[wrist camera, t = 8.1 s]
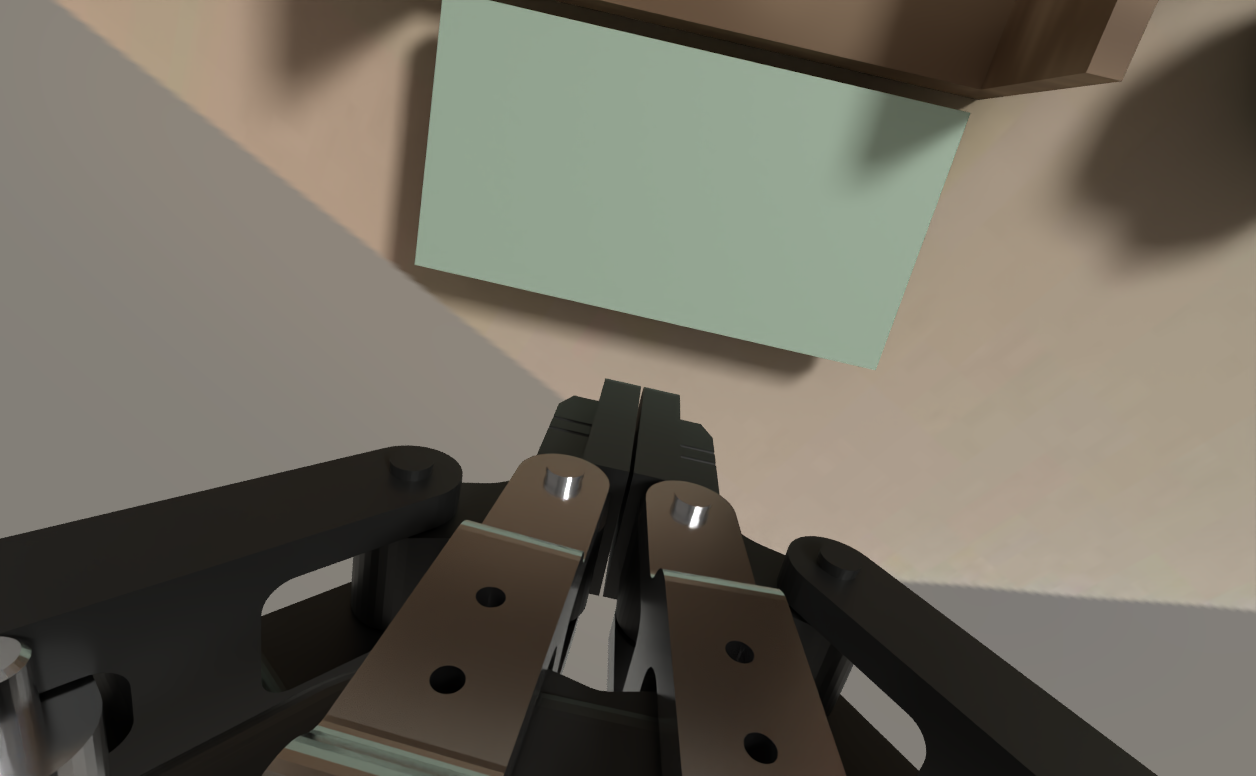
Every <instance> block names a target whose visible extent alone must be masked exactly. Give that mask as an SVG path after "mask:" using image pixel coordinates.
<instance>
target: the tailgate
mask: <svg viewBox="0 0 1256 776" xmlns="http://www.w3.org/2000/svg"><path fill="white" fill-rule="evenodd" d="M969 115H970V113H968V112H964V111H960V110H956V109H951V108H947V107H943V106H938V105H934V104H930V103H926V102H921V101H917V100H913V99H909V98H904V97H900V96H896V95H892V94H887V93H883V92H879V91H874V90H870V89H866V88H862V87H857V86H853V85H849V84H845V83H840V82H836V81H832V80H827V79H823V78H819V77H815V76H810V75H806V74H802V73H798V72H793V71H789V70H785V69H781V68H776V67H772V66H768V65H763V64H759V63H755V62H751V61H746V60H742V59H738V58H734V57H729V56H725V55H721V54H716V53H712V52H708V51H704V50H699V49H695V48H691V47H687V46H682V45H678V44H674V43H669V42H665V41H661V40H657V39H652V38H648V37H644V36H640V35H635V34H631V33H627V32H623V31H618V30H614V29H610V28H605V27H601V26H597V25H593V24H588V23H584V22H580V21H576V20H571V19H567V18H563V17H558V16H554V15H550V14H546V13H541V12H537V11H533V10H529V9H524V8H520V7H516V6H512V5H507V4H503V3H499V2H494V1H490V0H442V7H441V16H440V26H439V36H438V45H437V55H436V64H435V74H434V84H433V93H432V103H431V113H430V122H429V132H428V141H427V151H426V161H425V170H424V180H423V190H422V199H421V209H420V218H419V228H418V238H417V247H416V257H415V265H418V266H423V267H427V268H431V269H436V270H440V271H444V272H449V273H453V274H458V275H462V276H466V277H471V278H475V279H479V280H484V281H488V282H492V283H497V284H501V285H506V286H510V287H514V288H519V289H523V290H527V291H532V292H536V293H541V294H545V295H549V296H554V297H558V298H562V299H567V300H571V301H575V302H580V303H584V304H589V305H593V306H597V307H602V308H606V309H610V310H615V311H619V312H624V313H628V314H632V315H637V316H641V317H645V318H650V319H654V320H658V321H663V322H667V323H672V324H676V325H680V326H685V327H689V328H693V329H698V330H702V331H707V332H711V333H715V334H720V335H724V336H728V337H733V338H737V339H741V340H746V341H750V342H755V343H759V344H763V345H768V346H772V347H776V348H781V349H785V350H790V351H794V352H798V353H803V354H807V355H811V356H816V357H820V358H824V359H829V360H833V361H838V362H842V363H846V364H851V365H855V366H859V367H864V368H868V369H873V370H876V368H877V365H878V362H879V360H880V357H881V354H882V351H883V349H884V346H885V343H886V341H887V338H888V335H889V332H890V330H891V327H892V324H893V322H894V319H895V316H896V313H897V311H898V308H899V305H900V303H901V300H902V297H903V294H904V292H905V289H906V286H907V284H908V281H909V278H910V275H911V273H912V270H913V267H914V265H915V262H916V259H917V256H918V254H919V251H920V248H921V246H922V243H923V240H924V237H925V235H926V232H927V229H928V227H929V224H930V221H931V218H932V216H933V213H934V210H935V208H936V205H937V202H938V199H939V197H940V194H941V191H942V189H943V186H944V183H945V180H946V178H947V175H948V172H949V170H950V167H951V164H952V161H953V159H954V156H955V153H956V151H957V148H958V145H959V142H960V140H961V137H962V134H963V132H964V129H965V126H966V123H967V121H968V118H969Z"/></svg>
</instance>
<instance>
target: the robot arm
mask: <svg viewBox="0 0 1256 776" xmlns="http://www.w3.org/2000/svg"><path fill="white" fill-rule="evenodd" d="M640 390H641V386H637V385H633V384H628V383H624V382H619V381H615V380H611V379H605V382H604V385H603V389H602V392H601V396H600V399H599V401H595V400H591V399H587V398H582V397H578V396H572V397H571V398H569V399H567V400H565V401H563V402H561V403H559V405H558V407H557V410H556V412H555V414H554V417H553V419H552V421H551V424H550V426H549V428H548V430H547V433H546V435H545V437H544V440H543V442H542V444H541V447H540V449H539V451H538V454H537V455H536V456H532V457H530V458H528V459H526V460H524V461H523V462H522V463H521V464H520V465H519V467H518V468H517V470H516V471H515V473H514V474H513V476H512V478H511V479H510V481H506V482H500V483H462V469H461V466H460V465H459V463H458V462H457V461H456V460H455V459H453V458H452V457H450V456H449V455H447V454H445V453H443V452H440V451H438V450H434V449H430V448H427V447H420V446H393V447H388V448H383V449H379V450H375V451H371V452H366V453H362V454H357V455H353V456H349V457H345V458H340V459H336V460H332V461H328V462H324V463H319V464H315V465H311V466H307V467H302V468H298V469H294V470H290V471H286V472H281V473H277V474H273V475H269V476H264V477H260V478H256V479H251V480H247V481H243V482H239V483H234V484H230V485H226V486H222V487H217V488H214V489H209V490H205V491H201V492H196V493H192V494H188V495H184V496H179V497H175V498H171V499H167V500H162V501H158V502H154V503H150V504H146V505H141V506H137V507H133V508H128V509H124V510H120V511H116V512H111V513H108V514H103V515H99V516H94V517H91V518H86V519H82V520H77V521H73V522H69V523H65V524H61V525H57V526H53V527H48V528H44V529H40V530H35V531H31V532H27V533H23V534H18V535H14V536H10V537H5V538H1V539H0V776H1157V775H1156V774H1155V773H1153V772H1152V771H1151V770H1149V769H1148V768H1147V767H1145V766H1144V765H1142V764H1141V763H1140V762H1139V761H1137V760H1136V759H1135V758H1133V757H1132V756H1131V755H1129V754H1128V753H1127V752H1125V751H1124V750H1123V749H1121V748H1120V747H1119V746H1117V745H1116V744H1115V743H1113V742H1112V741H1111V740H1109V739H1108V738H1107V737H1105V736H1104V735H1103V734H1102V733H1100V732H1099V731H1098V730H1096V729H1095V728H1094V727H1092V726H1091V725H1090V724H1088V723H1087V722H1085V721H1084V720H1083V719H1082V718H1080V717H1079V716H1078V715H1076V714H1075V713H1074V712H1072V711H1071V710H1070V709H1068V708H1067V707H1066V706H1064V705H1063V704H1062V703H1060V702H1059V701H1058V700H1056V699H1055V698H1053V697H1052V696H1051V695H1050V694H1048V693H1047V692H1046V691H1044V690H1043V689H1042V688H1040V687H1039V686H1038V685H1036V684H1035V683H1034V682H1032V681H1031V680H1030V679H1028V678H1027V677H1026V676H1024V675H1023V674H1022V673H1020V672H1019V671H1018V670H1016V669H1015V668H1014V667H1012V666H1011V665H1010V664H1008V663H1007V662H1006V661H1004V660H1003V659H1002V658H1000V657H999V656H998V655H996V654H995V653H994V652H992V651H991V650H990V649H988V648H987V647H986V646H984V645H983V644H982V643H980V642H979V641H978V640H977V639H975V638H974V637H972V636H971V635H970V634H969V633H967V632H966V631H965V630H963V629H962V628H961V627H959V626H958V625H956V624H955V623H954V622H953V621H951V620H950V619H949V618H947V617H946V616H945V615H943V614H942V613H941V612H939V611H938V610H936V609H935V608H934V607H932V606H931V605H930V604H929V603H927V602H926V601H925V600H923V599H922V598H921V597H919V596H918V595H917V594H915V593H914V592H913V591H911V590H910V589H909V588H907V587H906V586H905V585H903V584H902V583H901V582H899V581H898V580H897V579H895V578H894V577H893V576H891V575H890V574H889V573H887V572H886V571H885V570H883V569H882V568H881V567H879V566H878V565H877V564H875V563H874V562H873V561H871V560H870V559H869V558H868V557H866V556H865V555H863V554H862V553H860V552H859V551H857V550H855V549H853V548H852V547H850V546H847V545H845V544H843V543H840V542H838V541H835V540H832V539H828V538H823V537H816V536H805V537H800V538H798V539H795V540H794V541H793V542H791V544H790V545H789V547H788V550H787V553H786V555H783V554H781V553H779V552H776V551H774V550H772V549H769V548H767V547H765V546H762V545H760V544H758V543H756V542H754V541H752V540H750V539H749V538H747V537H745V536H744V535H742V534H741V531H740V527H739V524H738V520H737V517H736V513H735V511H734V509H733V507H732V506H731V505H730V503H729V502H728V501H727V500H725V499H724V498H723V497H722V496H720V495H719V487H718V478H717V470H716V466H715V463H716V462H715V454H714V446H713V438H712V437H711V436H710V435H709V433H708V432H707V431H706V430H705V429H704V427H703V426H702V425H701V424H698V423H693V422H689V421H684V420H680V395H677V394H673V393H668V392H664V391H659V390H655V389H651V388H646V387H644V388H643V392H642V395H641V399H640V403H639V398H640ZM638 405H639V407H638ZM609 552H610V554H609ZM608 556H609V561H608ZM351 557H354V558H353V571H352V582H350V583H347V584H344V585H342V586H339V587H337V588H334V589H331V590H329V591H326V592H323V593H321V594H318V595H316V596H313V597H310V598H308V599H305V600H303V601H300V602H297V603H295V604H292V605H290V606H287V607H284V608H282V609H279V610H277V611H274V612H271V613H269V614H266V615H264V616H261V613H262V608H263V605H264V604H265V601H266V600H267V598H268V597H269V596H270V595H271V594H272V592H273V591H274V590H276V589H277V588H278V587H279V586H280V585H282V584H283V583H285V582H287V581H288V580H290V579H292V578H295V577H298V576H301V575H303V574H306V573H309V572H312V571H314V570H317V569H320V568H323V567H326V566H329V565H331V564H334V563H337V562H340V561H343V560H346V559H349V558H351ZM607 561H608V567H607V574H606V580H605V587H604V593H603V596H604V597H608V598H613V599H617V605H616V611H615V614H614V619H613V622H612V626H611V630H610V634H609V641H608V642H609V643H608V644H609V645H608V675H607V677H608V679H607V691H599V690H595V689H592V688H590V687H588V686H585V685H583V684H581V683H579V682H576V681H574V680H572V679H570V678H568V677H565V676H563V675H562V673H563V670H564V666H565V663H566V660H567V656H568V653H569V650H570V647H571V644H572V641H573V637H574V634H575V631H576V626H577V622H578V618H579V615H580V614H581V613H582V612H583V610H584V609H585V606H586V603H587V599H588V594H594V595H599V593H600V589H601V584H602V581H603V577H604V573H605V569H606V564H607ZM853 664H854V665H855V666H856V667H857V668H858V669H859V670H860V671H862V672H863V673H864V674H865V675H866V676H867V677H868V678H869V679H870V680H872V682H874V683H875V684H876V685H877V686H878V687H879V688H880V689H881V690H882V691H883V692H885V693H886V694H887V695H888V696H889V697H890V698H891V699H892V700H893V701H894V702H896V703H897V704H898V705H899V706H900V707H901V708H902V709H903V710H904V711H905V712H906V713H907V714H909V716H910V717H912V718H913V720H914V721H915V722H916V723H917V725H918V727H919V729H920V730H921V732H922V734H923V737H924V740H925V744H926V759H925V761H924V763H923V765H922V767H921V769H920V770H917V769H916V768H915V767H914V766H913V765H912V764H911V763H910V762H909V761H908V760H907V759H906V758H905V757H904V756H903V755H902V754H901V753H900V752H899V751H898V750H897V749H896V748H895V747H894V746H893V745H892V744H891V743H890V742H889V741H888V740H887V739H886V738H884V736H883V735H881V734H880V733H879V732H878V731H877V730H876V729H875V728H874V727H873V726H872V725H871V724H870V723H869V722H868V721H867V720H866V719H865V718H864V717H863V716H862V715H861V714H860V713H859V712H858V711H857V710H856V709H855V708H854V707H853V706H852V705H851V704H850V703H849V702H848V701H847V700H846V699H845V698H844V697H842V696H841V695H840V693H841V691H842V689H843V686H844V684H845V682H846V680H847V678H848V675H849V673H850V671H851V669H852V667H853Z"/></svg>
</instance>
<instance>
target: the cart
mask: <svg viewBox="0 0 1256 776" xmlns="http://www.w3.org/2000/svg"><path fill="white" fill-rule="evenodd" d="M555 1H559V2H563V3H567V4H572V5H576V6H580V7H585V8H589V9H593V10H597V11H602V12H606V13H610V14H614V15H619V16H623V17H627V18H631V19H636V20H640V21H644V22H648V23H653V24H657V25H661V26H666V27H670V28H674V29H678V30H683V31H687V32H691V33H695V34H700V35H704V36H708V37H712V38H717V39H721V40H725V41H729V42H734V43H738V44H742V45H747V46H751V47H755V48H759V49H764V50H768V51H772V52H776V53H781V54H785V55H789V56H793V57H798V58H802V59H806V60H811V61H815V62H819V63H823V64H828V65H832V66H836V67H840V68H845V69H849V70H853V71H857V72H862V73H866V74H870V75H874V76H879V77H883V78H887V79H892V80H896V81H900V82H904V83H909V84H913V85H917V86H921V87H926V88H930V89H934V90H938V91H943V92H947V93H951V94H955V95H960V96H964V97H968V98H973V99H977V100H980V99H988V98H996V97H1004V96H1011V95H1019V94H1027V93H1034V92H1042V91H1050V90H1057V89H1065V88H1073V87H1080V86H1088V85H1096V84H1104V83H1111V82H1119V81H1122V80H1123V77H1124V75H1125V73H1126V71H1127V69H1128V66H1129V64H1130V62H1131V60H1132V58H1133V55H1134V53H1135V51H1136V49H1137V46H1138V44H1139V42H1140V40H1141V38H1142V35H1143V33H1144V31H1145V29H1146V27H1147V24H1148V22H1149V20H1150V18H1151V15H1152V13H1153V11H1154V9H1155V7H1156V4H1157V2H1158V0H555Z"/></svg>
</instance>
